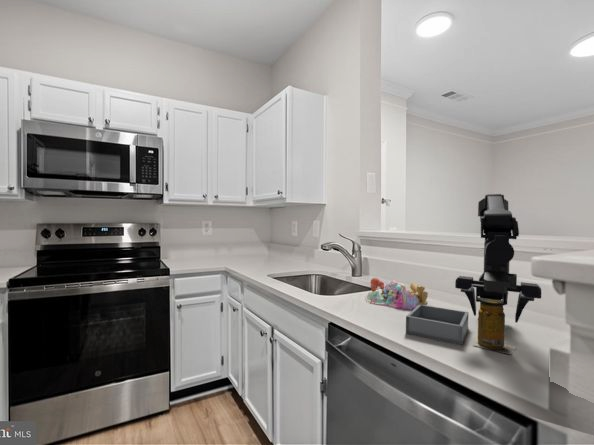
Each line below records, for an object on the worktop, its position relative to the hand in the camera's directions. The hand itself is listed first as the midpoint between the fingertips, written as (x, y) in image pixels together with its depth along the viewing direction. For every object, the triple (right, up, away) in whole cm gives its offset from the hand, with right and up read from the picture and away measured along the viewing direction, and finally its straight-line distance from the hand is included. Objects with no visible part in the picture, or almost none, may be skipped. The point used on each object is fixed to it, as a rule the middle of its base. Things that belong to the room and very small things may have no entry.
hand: (495, 318), depth 82 cm
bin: (-10, -7, +11) cm, 17 cm away
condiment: (0, -8, 0) cm, 8 cm away
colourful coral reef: (-12, -8, +45) cm, 48 cm away
